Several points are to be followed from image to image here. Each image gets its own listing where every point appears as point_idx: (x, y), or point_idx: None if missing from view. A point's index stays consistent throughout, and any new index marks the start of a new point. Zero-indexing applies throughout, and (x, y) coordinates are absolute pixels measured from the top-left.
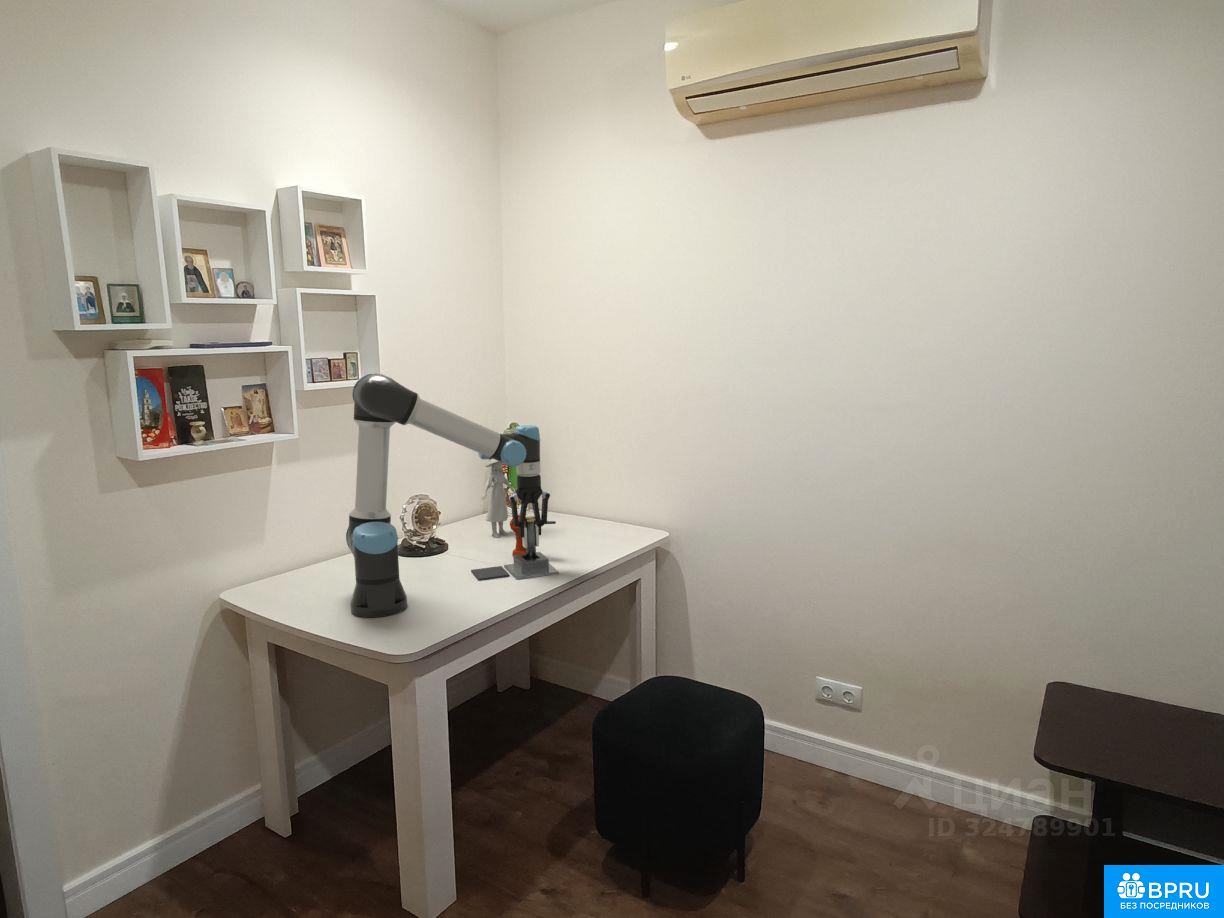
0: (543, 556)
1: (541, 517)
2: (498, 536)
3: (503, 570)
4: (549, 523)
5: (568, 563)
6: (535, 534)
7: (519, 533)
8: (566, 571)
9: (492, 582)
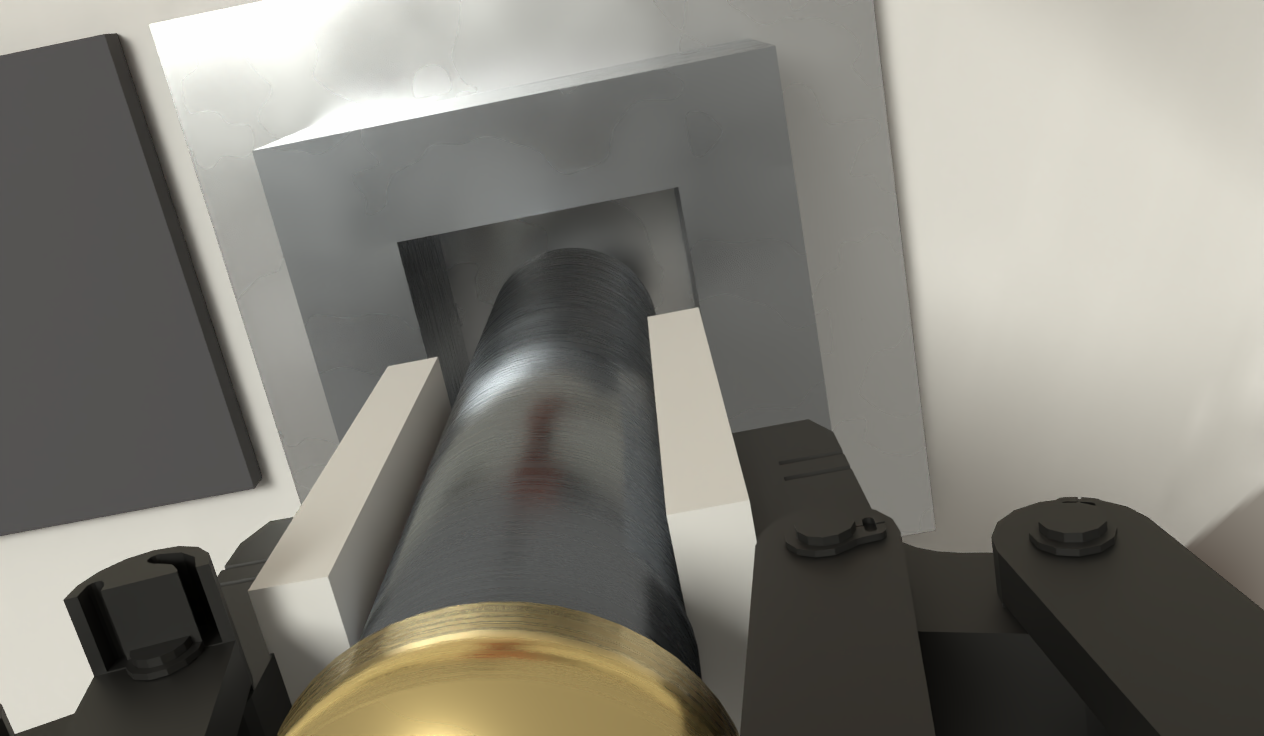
0: (790, 362)
1: (1057, 654)
2: None
3: (155, 286)
4: None
5: (1196, 57)
6: None
7: (227, 582)
8: (1052, 433)
9: (48, 649)
